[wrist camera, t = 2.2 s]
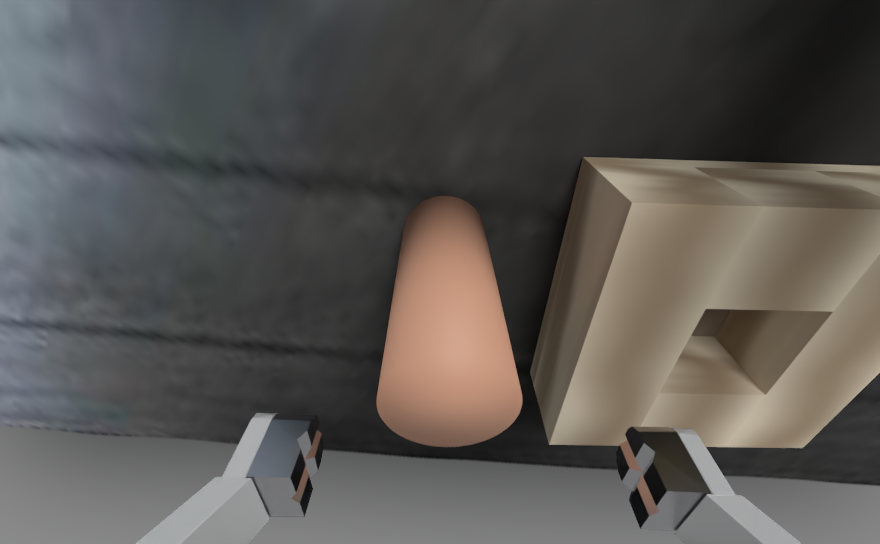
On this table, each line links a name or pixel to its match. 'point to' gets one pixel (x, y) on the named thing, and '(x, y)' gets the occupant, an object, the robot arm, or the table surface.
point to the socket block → (711, 301)
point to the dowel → (447, 334)
